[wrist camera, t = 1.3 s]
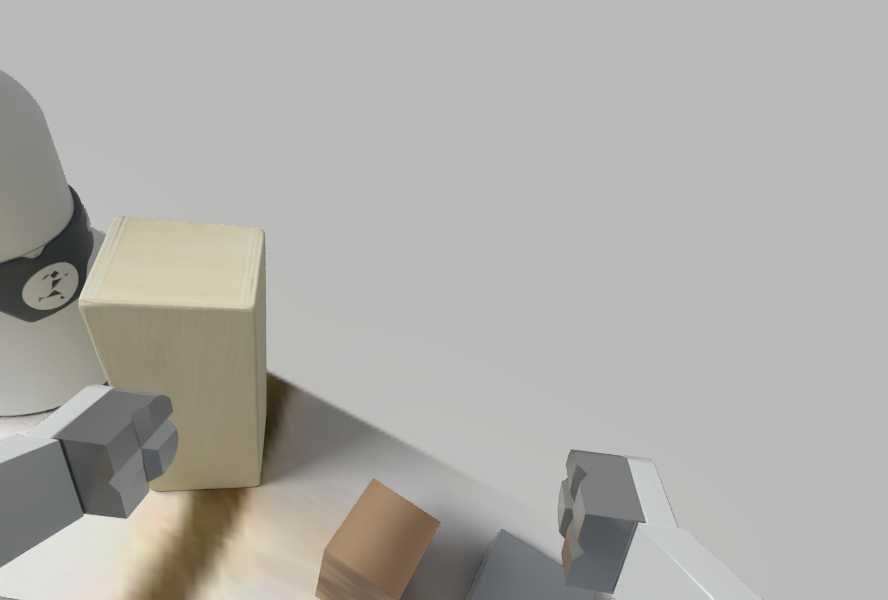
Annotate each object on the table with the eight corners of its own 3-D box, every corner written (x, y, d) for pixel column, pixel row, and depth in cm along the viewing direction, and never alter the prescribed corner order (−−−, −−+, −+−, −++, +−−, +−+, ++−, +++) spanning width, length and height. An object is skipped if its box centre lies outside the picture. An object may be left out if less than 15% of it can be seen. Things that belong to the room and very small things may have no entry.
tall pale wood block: (270, 405, 45) (266, 218, 30) (262, 487, 40) (254, 312, 25) (170, 406, 43) (113, 205, 28) (149, 492, 38) (68, 305, 23)
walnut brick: (315, 595, 36) (324, 549, 29) (356, 533, 39) (373, 478, 32) (374, 638, 35) (398, 600, 28) (410, 570, 38) (440, 522, 31)
